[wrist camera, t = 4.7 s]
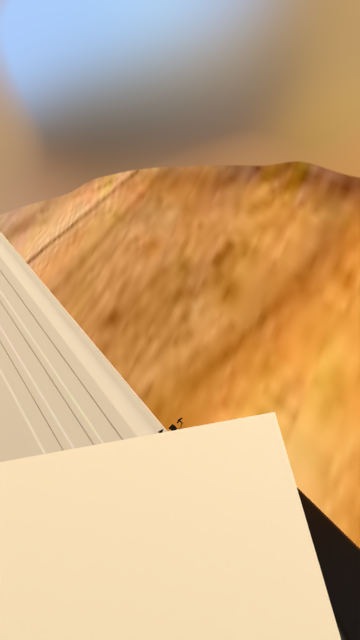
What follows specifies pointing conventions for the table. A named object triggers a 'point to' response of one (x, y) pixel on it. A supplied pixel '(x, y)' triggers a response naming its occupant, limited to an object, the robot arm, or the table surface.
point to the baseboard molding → (56, 375)
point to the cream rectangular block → (161, 541)
